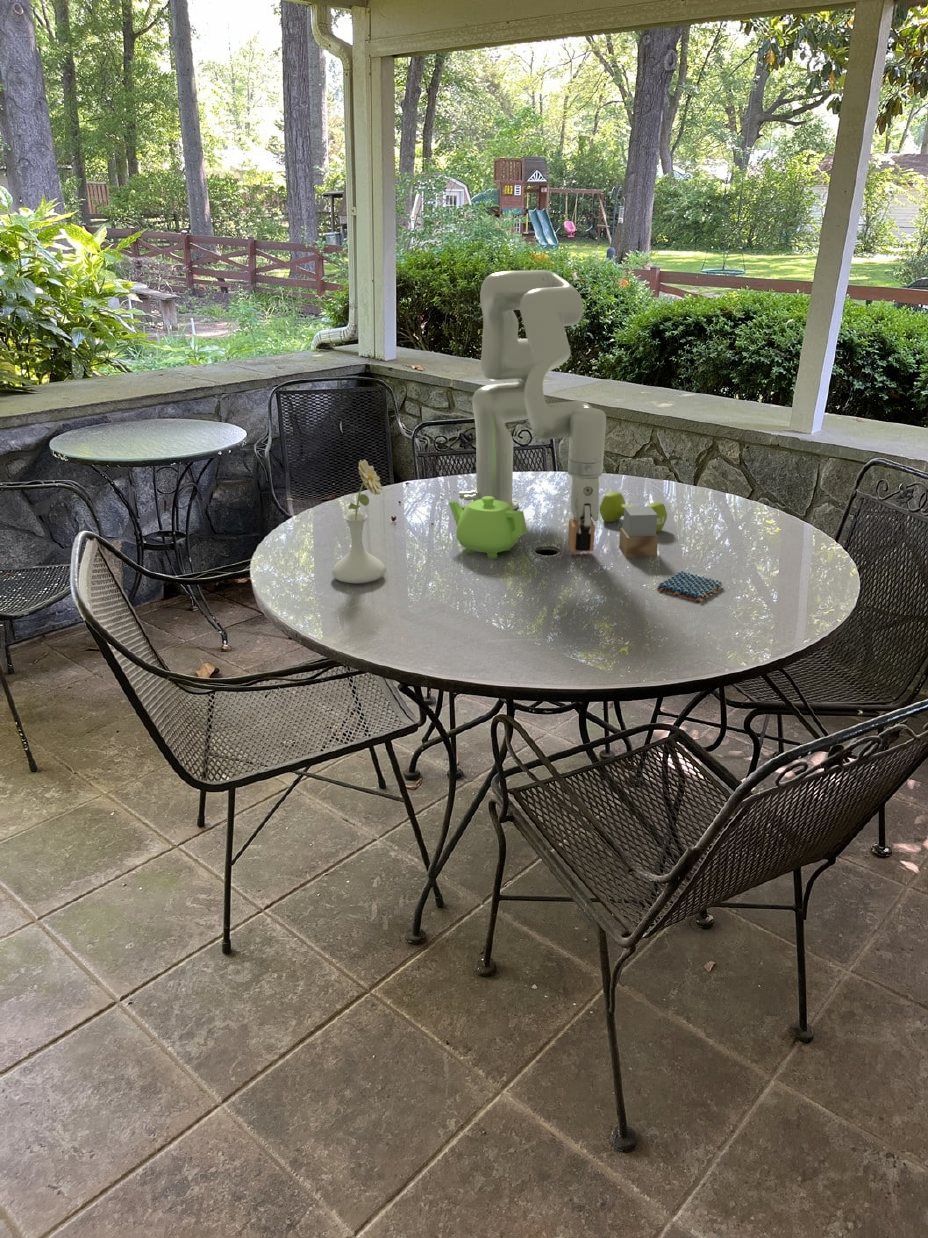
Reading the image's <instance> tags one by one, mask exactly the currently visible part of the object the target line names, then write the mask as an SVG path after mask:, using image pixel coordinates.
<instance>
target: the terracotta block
mask: <svg viewBox="0 0 928 1238" xmlns="http://www.w3.org/2000/svg"><path fill="white" fill-rule="evenodd" d="M581 520H584V519H581ZM582 525H584V523H581V526H582ZM576 533H578V521H577V520H576V519H573V518H569V519H568V533H567V534H568V535H567V546H568V548H569V551H570V552H571V553H586V552H587V553H589V552H590V553H591V552H594V548H595V535H596V526H595V524H594V520H593V518H591V543H590V550H588V551H577V550H576Z"/></svg>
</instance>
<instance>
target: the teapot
mask: <svg viewBox="0 0 928 1238" xmlns="http://www.w3.org/2000/svg"><path fill="white" fill-rule="evenodd" d="M494 499H495V498H494V497H492V496H485V497H482V499H479V500H476V501H473V502H471V501H470V502H469V503H467V504H466V506H465V507H464V508H463V507H462V506H461V505H460V504H459V502H458V500H457V501H456V500H451V501H449V502H448V505H449V507H450V510H451V513H452V516H453V518H454V521H455V524H456V526H457V527H456V531H455V532H456V533H455V534H456V539H457V541H458V543H459V544H460V545H461V546H462V547H463V548H465V550H464V551H463V552H464V553H465V554H473V553H476V552H479V553H486V558H488V559H498V553H503V552H506V551H511V550H512V547H514V546H515V545H516V544H517V542H518V541H519V539H520V537H522V536H524V535H525V534H527V533H528V528H527V524H526V519H525V514H524V511H523V510H513V509H512V507H511V506H510V504H508V503H506V502H503V501H499V500H494Z"/></svg>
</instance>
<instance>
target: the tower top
mask: <svg viewBox="0 0 928 1238" xmlns="http://www.w3.org/2000/svg"><path fill="white" fill-rule="evenodd" d="M622 517H623V520H622V528H623V529H624V531H625V532H626V533H627V535H628V536H629V537H643V536H656V535H657V533H656V524H657V514H656V513H655V511H654V510H653V509H652V508H651V507H646V506H635V507H624V516H622Z"/></svg>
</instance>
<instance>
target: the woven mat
mask: <svg viewBox="0 0 928 1238" xmlns="http://www.w3.org/2000/svg"><path fill="white" fill-rule="evenodd" d="M721 588H722V589H723V582H721V581H719V580H718V579H716V580H715V579H712V578H706V577H704V576H700V575H698V574H692V573H690V572H688V573H687V572H684V571H683V570H681V571H680V572H677V573H675V574H674V575H673V574H672V576H671V577H669V578H667V579H665V580H663V581H662V582H660V583H659V585H657V587H656V589H657V591H660V592H661V593H667V594H670V595H674V596H676V597H680V598H684V599H688V600H692V601H695V602H698V603H702V602H703V601H705V598H706V599H708V598H709V597H710V595H708V594H712V595H713V593H714V594H716V593H717V592H718V591H720V590H722V589H721ZM708 596H709V597H708ZM713 596H714V595H713Z"/></svg>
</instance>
